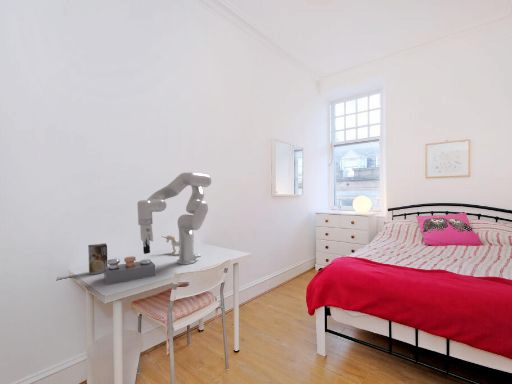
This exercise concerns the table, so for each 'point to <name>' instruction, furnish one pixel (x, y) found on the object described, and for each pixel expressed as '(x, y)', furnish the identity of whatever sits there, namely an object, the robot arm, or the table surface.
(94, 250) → the coffee box
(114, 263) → the steel plunger
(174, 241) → the unicorn figurine
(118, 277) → the box
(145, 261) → the steel plunger
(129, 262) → the peach ball
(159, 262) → the table surface
